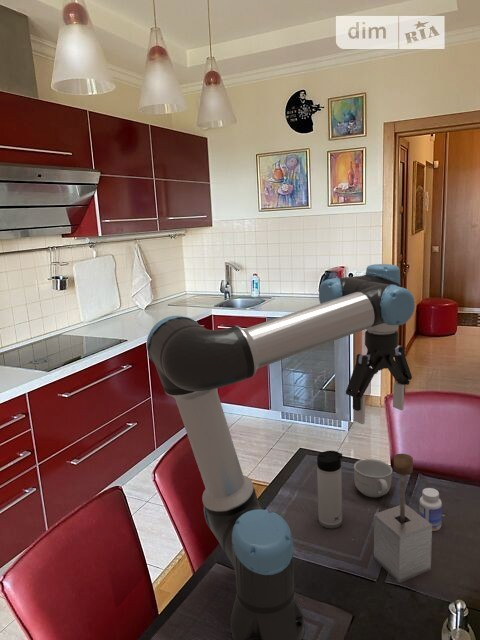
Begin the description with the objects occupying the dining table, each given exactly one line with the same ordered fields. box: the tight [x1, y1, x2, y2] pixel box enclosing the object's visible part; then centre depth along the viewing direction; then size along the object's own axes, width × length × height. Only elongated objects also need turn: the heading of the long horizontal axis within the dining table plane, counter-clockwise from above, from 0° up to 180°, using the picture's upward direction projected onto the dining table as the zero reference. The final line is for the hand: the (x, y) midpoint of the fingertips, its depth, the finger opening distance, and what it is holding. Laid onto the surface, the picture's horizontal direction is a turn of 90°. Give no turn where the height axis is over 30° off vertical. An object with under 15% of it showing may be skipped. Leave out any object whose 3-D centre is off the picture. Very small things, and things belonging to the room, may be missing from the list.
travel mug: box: [316, 450, 343, 529], centre depth 130 cm, size 6×7×20 cm
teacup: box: [353, 458, 393, 498], centre depth 143 cm, size 14×11×8 cm
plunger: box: [393, 453, 414, 524], centre depth 112 cm, size 7×7×18 cm
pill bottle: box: [418, 487, 443, 532], centre depth 128 cm, size 5×5×10 cm
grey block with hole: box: [373, 503, 433, 584], centre depth 116 cm, size 9×11×12 cm
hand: (379, 415), depth 120 cm, fingers open, 13 cm apart
